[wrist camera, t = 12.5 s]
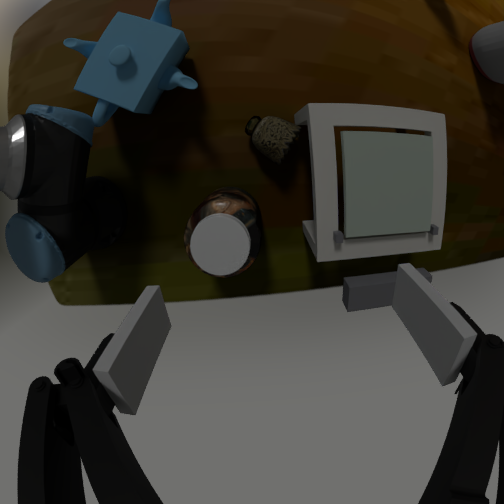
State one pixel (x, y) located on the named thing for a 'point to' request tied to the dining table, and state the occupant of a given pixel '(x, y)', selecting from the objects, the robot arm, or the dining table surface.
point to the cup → (272, 136)
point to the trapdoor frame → (325, 179)
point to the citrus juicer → (489, 51)
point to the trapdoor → (384, 201)
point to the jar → (224, 233)
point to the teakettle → (132, 63)
